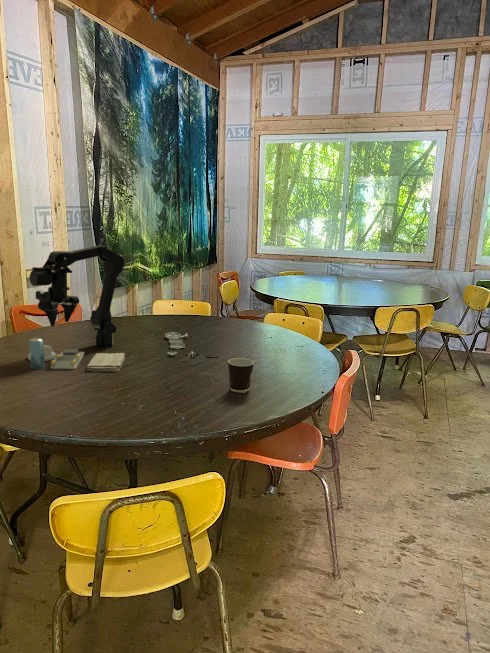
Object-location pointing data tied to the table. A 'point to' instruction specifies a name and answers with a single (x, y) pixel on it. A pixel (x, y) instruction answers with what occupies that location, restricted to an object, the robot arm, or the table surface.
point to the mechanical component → (47, 353)
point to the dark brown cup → (240, 373)
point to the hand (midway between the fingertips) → (59, 324)
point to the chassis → (67, 359)
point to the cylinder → (36, 353)
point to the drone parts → (175, 341)
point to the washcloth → (106, 362)
